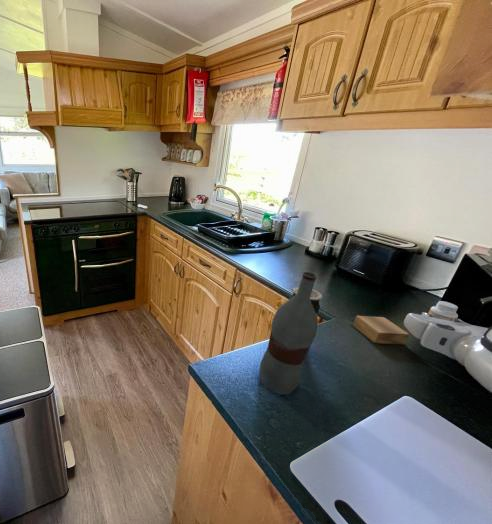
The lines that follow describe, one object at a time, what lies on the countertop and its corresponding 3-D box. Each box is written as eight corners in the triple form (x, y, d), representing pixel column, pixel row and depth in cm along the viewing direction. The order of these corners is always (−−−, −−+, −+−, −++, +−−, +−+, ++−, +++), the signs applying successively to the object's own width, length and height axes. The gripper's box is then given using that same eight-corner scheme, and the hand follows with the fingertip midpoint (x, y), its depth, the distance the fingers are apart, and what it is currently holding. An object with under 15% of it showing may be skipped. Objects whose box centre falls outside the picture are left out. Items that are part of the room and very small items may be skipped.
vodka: (249, 371, 76) (277, 266, 65) (279, 367, 78) (311, 265, 67) (272, 399, 68) (308, 284, 57) (304, 394, 70) (345, 283, 59)
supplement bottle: (432, 330, 86) (448, 300, 83) (450, 341, 81) (468, 310, 77) (414, 328, 86) (429, 298, 82) (431, 340, 81) (448, 308, 77)
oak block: (379, 326, 102) (384, 317, 101) (404, 344, 93) (409, 334, 91) (352, 325, 102) (356, 315, 100) (374, 343, 92) (378, 332, 91)
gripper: (535, 346, 66) (492, 317, 78) (425, 323, 72) (401, 300, 84) (520, 368, 68) (481, 336, 80) (414, 344, 74) (392, 318, 86)
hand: (439, 317), depth 82 cm, fingers closed on supplement bottle, 5 cm apart
